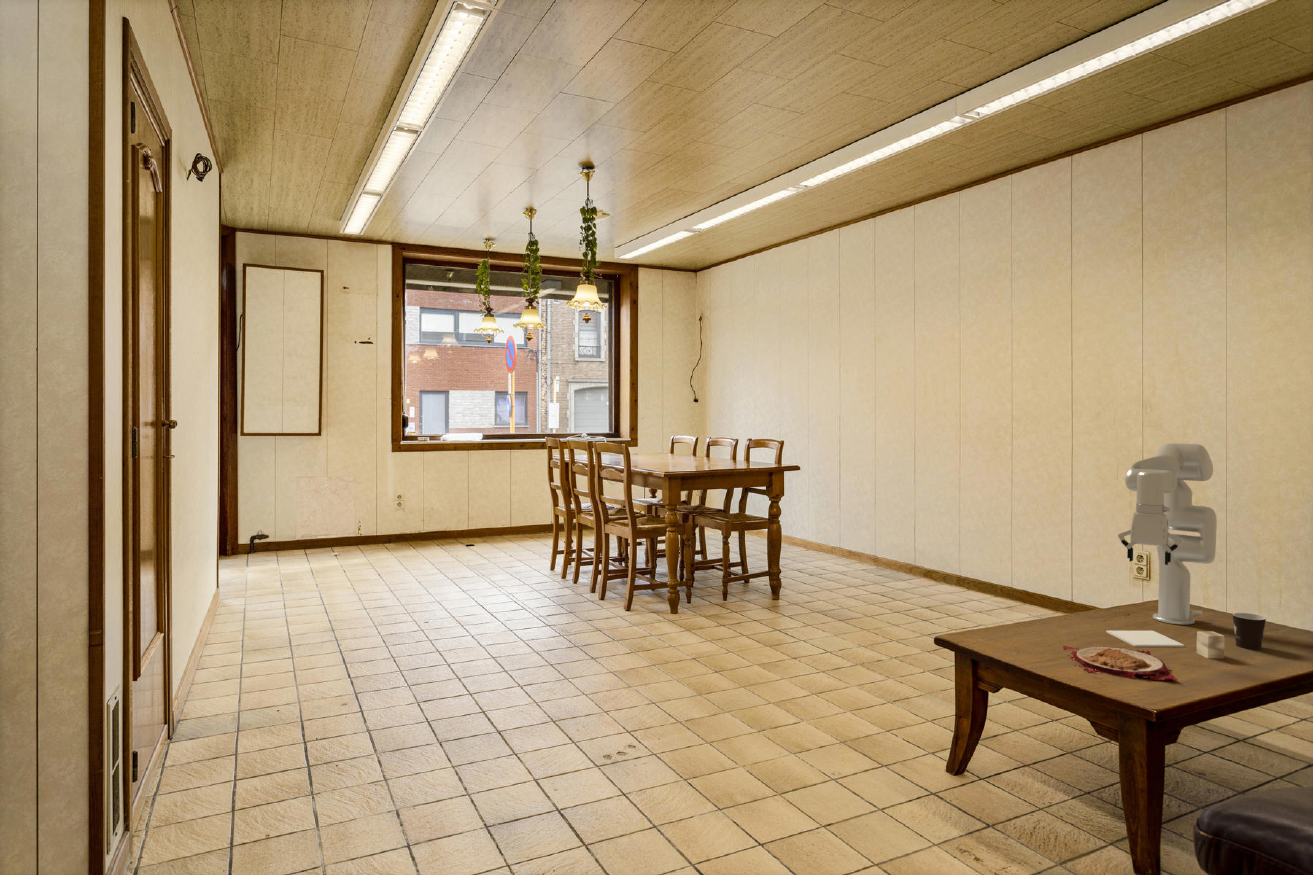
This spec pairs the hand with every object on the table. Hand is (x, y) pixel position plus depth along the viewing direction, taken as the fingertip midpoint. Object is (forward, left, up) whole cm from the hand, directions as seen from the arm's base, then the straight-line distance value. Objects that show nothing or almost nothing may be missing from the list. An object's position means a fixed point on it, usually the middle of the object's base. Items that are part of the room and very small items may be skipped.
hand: (1148, 562), depth 247 cm
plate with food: (+19, +16, -29) cm, 38 cm away
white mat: (-5, -9, -28) cm, 30 cm away
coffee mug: (-35, -2, -28) cm, 45 cm away
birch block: (-15, +8, -28) cm, 32 cm away
